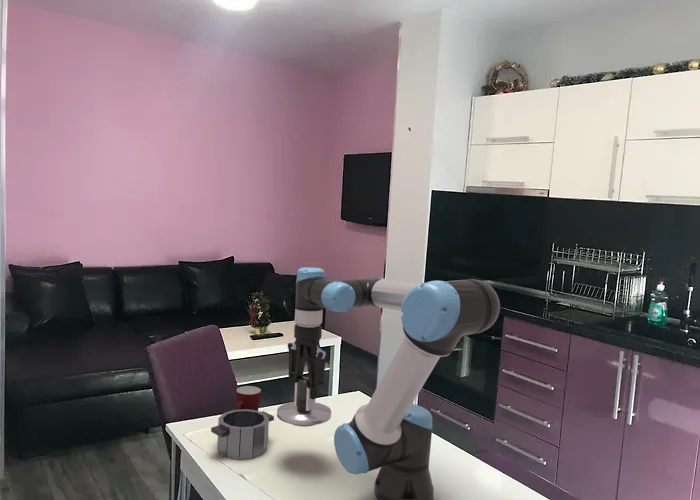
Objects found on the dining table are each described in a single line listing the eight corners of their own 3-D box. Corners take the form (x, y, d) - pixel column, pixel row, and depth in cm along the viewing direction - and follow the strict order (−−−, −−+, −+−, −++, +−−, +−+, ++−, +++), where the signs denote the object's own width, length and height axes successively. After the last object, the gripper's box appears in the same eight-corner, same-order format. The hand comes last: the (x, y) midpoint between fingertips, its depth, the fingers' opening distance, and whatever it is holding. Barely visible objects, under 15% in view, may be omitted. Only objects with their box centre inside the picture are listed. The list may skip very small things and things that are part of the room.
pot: (282, 447, 169) (284, 418, 168) (230, 467, 155) (232, 435, 154) (252, 432, 178) (253, 404, 177) (200, 449, 164) (202, 419, 163)
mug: (250, 429, 180) (251, 398, 179) (226, 425, 182) (228, 394, 181) (263, 417, 190) (265, 388, 189) (241, 413, 192) (242, 384, 191)
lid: (341, 421, 160) (344, 380, 159) (303, 435, 148) (305, 391, 147) (304, 406, 169) (306, 367, 168) (265, 419, 158) (267, 377, 157)
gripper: (340, 328, 154) (336, 412, 156) (296, 317, 165) (293, 396, 167) (321, 331, 148) (316, 419, 150) (277, 320, 159) (273, 402, 161)
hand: (304, 407), depth 159 cm, fingers closed on lid, 4 cm apart
